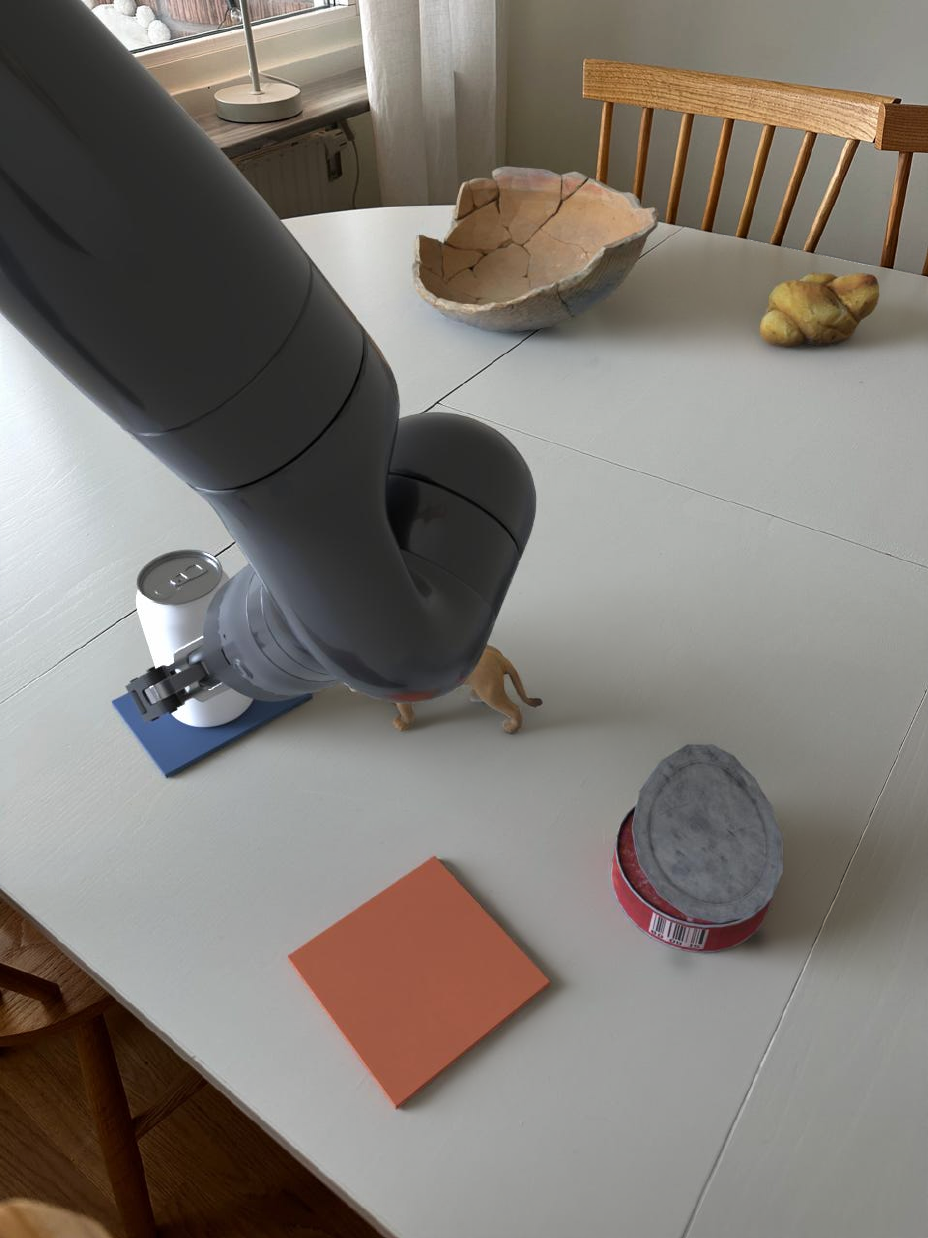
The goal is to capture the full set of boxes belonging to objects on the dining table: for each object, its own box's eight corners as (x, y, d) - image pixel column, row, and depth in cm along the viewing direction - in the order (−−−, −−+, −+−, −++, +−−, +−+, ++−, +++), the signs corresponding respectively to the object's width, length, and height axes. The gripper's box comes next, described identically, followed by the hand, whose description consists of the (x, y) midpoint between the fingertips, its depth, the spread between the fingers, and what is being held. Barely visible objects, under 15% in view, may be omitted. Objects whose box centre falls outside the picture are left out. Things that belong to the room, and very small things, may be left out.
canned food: (720, 867, 67) (817, 785, 62) (728, 997, 59) (841, 918, 54) (580, 796, 66) (667, 705, 60) (569, 921, 58) (668, 830, 52)
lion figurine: (343, 749, 70) (330, 660, 64) (343, 694, 74) (331, 605, 68) (547, 733, 71) (553, 643, 65) (536, 680, 75) (541, 591, 68)
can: (151, 702, 73) (109, 579, 65) (219, 655, 76) (188, 533, 68) (206, 745, 70) (169, 622, 62) (274, 694, 73) (248, 571, 65)
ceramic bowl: (357, 295, 120) (366, 165, 112) (496, 265, 138) (512, 150, 130) (550, 380, 106) (577, 238, 97) (677, 334, 124) (709, 211, 115)
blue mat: (166, 778, 68) (165, 775, 68) (112, 704, 73) (111, 700, 73) (312, 697, 73) (312, 694, 73) (252, 634, 79) (252, 630, 78)
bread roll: (775, 362, 110) (790, 294, 105) (734, 325, 117) (746, 259, 112) (874, 346, 113) (894, 278, 108) (828, 310, 120) (844, 245, 115)
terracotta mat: (396, 1110, 52) (396, 1107, 51) (287, 959, 58) (286, 956, 58) (550, 984, 57) (550, 981, 56) (434, 858, 63) (434, 855, 63)
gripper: (372, 504, 53) (290, 564, 68) (129, 618, 47) (95, 657, 61) (435, 626, 54) (340, 660, 68) (203, 755, 47) (152, 762, 62)
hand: (224, 659), depth 65 cm, fingers open, 8 cm apart
